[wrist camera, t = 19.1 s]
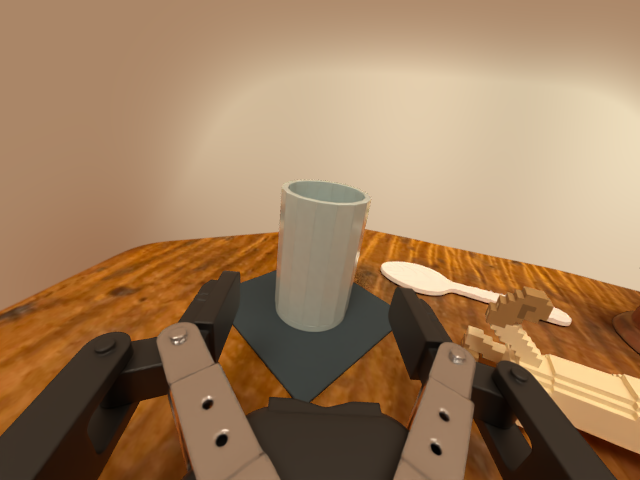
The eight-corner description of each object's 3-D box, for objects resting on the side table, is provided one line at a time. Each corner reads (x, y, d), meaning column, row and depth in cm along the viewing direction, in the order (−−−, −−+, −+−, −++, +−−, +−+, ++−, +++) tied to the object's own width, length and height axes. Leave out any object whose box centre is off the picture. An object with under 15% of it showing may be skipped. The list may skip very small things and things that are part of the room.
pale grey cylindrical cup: (307, 345, 18) (327, 210, 14) (260, 300, 21) (264, 182, 17) (360, 310, 22) (387, 198, 18) (312, 277, 25) (326, 177, 21)
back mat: (301, 409, 14) (302, 406, 14) (209, 296, 21) (209, 294, 21) (406, 317, 22) (407, 315, 22) (313, 258, 29) (313, 256, 29)
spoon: (583, 340, 22) (587, 336, 22) (377, 280, 27) (378, 276, 26) (554, 304, 27) (557, 300, 26) (383, 258, 31) (384, 254, 31)
